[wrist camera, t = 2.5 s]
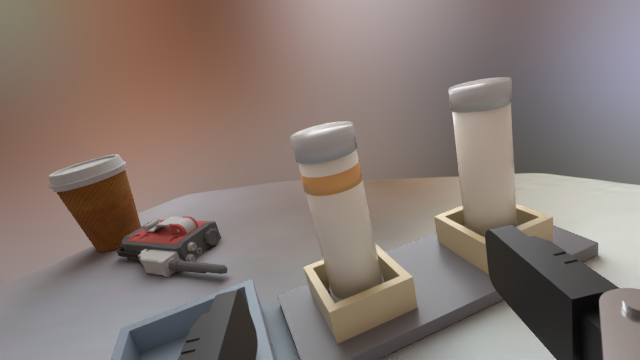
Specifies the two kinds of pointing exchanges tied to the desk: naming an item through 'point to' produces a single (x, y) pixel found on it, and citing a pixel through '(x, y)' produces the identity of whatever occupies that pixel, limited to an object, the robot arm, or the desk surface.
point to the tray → (185, 329)
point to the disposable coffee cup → (99, 199)
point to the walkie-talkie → (172, 246)
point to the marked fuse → (338, 207)
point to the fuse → (485, 152)
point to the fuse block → (409, 291)
